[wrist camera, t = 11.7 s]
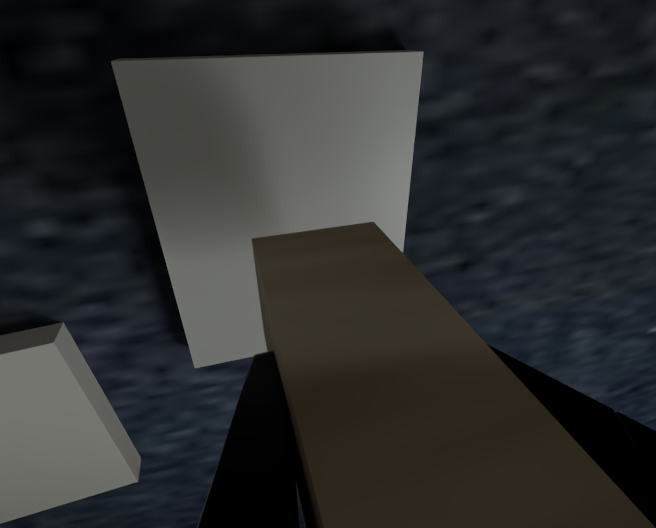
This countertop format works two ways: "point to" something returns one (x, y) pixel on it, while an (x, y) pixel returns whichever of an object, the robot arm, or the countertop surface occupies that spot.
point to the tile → (55, 426)
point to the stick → (410, 401)
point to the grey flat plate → (264, 167)
